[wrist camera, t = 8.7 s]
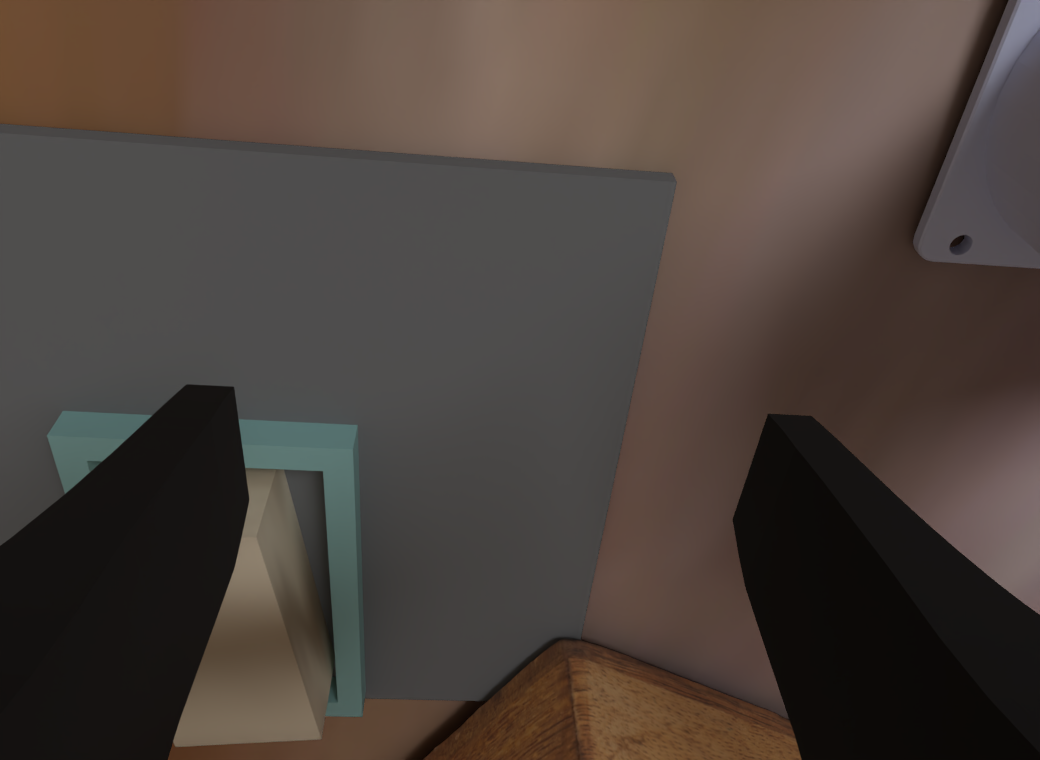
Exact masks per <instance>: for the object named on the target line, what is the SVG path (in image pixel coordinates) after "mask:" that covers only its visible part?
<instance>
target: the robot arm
mask: <svg viewBox="0 0 1040 760" xmlns="http://www.w3.org/2000/svg"><path fill="white" fill-rule="evenodd" d="M961 235H965V236H964V239H963V240H962V242H961V243H960V244H958V245H957V246H955V247H950V244H951V242H952V241H953V240H954V239H955V238H957V237H958V236H961ZM913 245H914V249H915V250H916V251H917V253H918V254H919V255H920V256H921V257H922V258H923V259H924V260H928V261H931V262H945V263H960V264H975V265H990V266H1005V267H1020V268H1035V269H1040V0H1009V1H1008V3H1007V6H1006V8H1005V10H1004V13H1003V15H1002V18H1001V20H1000V23H999V25H998V28H997V30H996V33H995V35H994V38H993V40H992V43H991V45H990V48H989V50H988V53H987V55H986V58H985V60H984V63H983V65H982V68H981V70H980V73H979V75H978V78H977V80H976V83H975V85H974V88H973V90H972V93H971V95H970V98H969V100H968V103H967V105H966V108H965V110H964V113H963V115H962V118H961V120H960V123H959V125H958V128H957V130H956V133H955V135H954V138H953V140H952V143H951V145H950V148H949V150H948V153H947V155H946V158H945V160H944V163H943V165H942V167H941V170H940V172H939V175H938V177H937V180H936V182H935V185H934V187H933V190H932V192H931V195H930V197H929V200H928V202H927V205H926V207H925V210H924V212H923V215H922V217H921V220H920V222H919V225H918V227H917V230H916V232H915V235H914V239H913ZM249 500H250V499H249V492H248V485H247V477H246V470H245V463H244V455H243V448H242V441H241V433H240V426H239V419H238V411H237V404H236V397H235V390H234V387H232V386H212V385H193V384H186V385H185V386H184V387H183V388H182V389H181V390H179V391H178V392H177V393H176V394H175V395H174V396H173V397H172V398H170V399H169V400H168V401H167V402H166V403H165V404H164V405H163V406H162V407H161V408H160V409H159V410H157V411H156V412H155V413H154V414H153V415H152V416H151V417H150V418H149V419H148V420H147V421H146V422H145V423H144V424H143V425H141V426H140V427H139V428H138V429H137V430H136V431H135V432H134V433H133V434H132V435H131V436H130V437H129V438H127V439H126V440H125V441H124V442H123V443H122V444H121V445H120V446H119V447H118V448H117V449H116V450H114V451H113V452H112V453H111V454H110V455H109V456H108V457H107V458H105V459H104V460H103V461H102V462H101V463H100V464H99V465H98V466H96V467H95V468H94V469H93V470H92V471H91V472H90V473H88V474H87V475H86V476H85V477H84V478H83V479H82V480H81V481H79V482H78V483H77V484H76V485H75V486H74V487H73V488H71V489H70V490H69V491H68V492H67V493H66V494H64V495H63V496H62V497H61V498H60V499H58V500H57V501H56V502H55V503H53V504H52V505H51V506H50V507H48V508H47V509H46V510H45V511H43V512H42V513H41V514H40V515H39V516H37V517H36V518H35V519H34V520H32V521H31V522H30V523H29V524H27V525H26V526H25V527H24V528H22V529H21V530H20V531H19V532H17V533H16V534H15V535H14V536H12V537H11V538H10V539H9V540H7V541H6V542H5V543H3V544H2V545H1V546H0V760H168V756H169V753H170V750H171V747H172V743H173V740H174V737H175V734H176V731H177V727H178V724H179V721H180V718H181V715H182V713H183V710H184V707H185V704H186V702H187V699H188V696H189V693H190V691H191V688H192V685H193V682H194V680H195V677H196V674H197V671H198V669H199V666H200V663H201V660H202V658H203V655H204V652H205V649H206V647H207V644H208V641H209V638H210V636H211V633H212V630H213V627H214V625H215V622H216V619H217V616H218V613H219V611H220V608H221V605H222V602H223V599H224V597H225V594H226V591H227V588H228V585H229V582H230V579H231V577H232V574H233V571H234V568H235V564H236V560H237V555H238V551H239V547H240V542H241V538H242V533H243V529H244V524H245V519H246V514H247V509H248V505H249ZM733 524H734V530H735V535H736V541H737V547H738V553H739V558H740V563H741V568H742V573H743V578H744V583H745V587H746V590H747V593H748V596H749V600H750V603H751V606H752V609H753V612H754V615H755V618H756V621H757V624H758V627H759V630H760V633H761V636H762V639H763V642H764V645H765V648H766V651H767V654H768V657H769V660H770V663H771V666H772V669H773V672H774V675H775V678H776V681H777V684H778V687H779V690H780V693H781V696H782V699H783V702H784V705H785V708H786V711H787V714H788V717H789V720H790V723H791V726H792V729H793V732H794V735H795V738H796V742H797V745H798V749H799V752H800V756H801V759H802V760H1040V615H1039V614H1038V613H1036V612H1035V611H1033V610H1032V609H1031V608H1029V607H1028V606H1027V605H1025V604H1024V603H1022V602H1021V601H1020V600H1018V599H1017V598H1016V597H1015V596H1013V595H1012V594H1011V593H1009V592H1008V591H1007V590H1006V589H1004V588H1003V587H1002V586H1000V585H999V584H998V583H997V582H995V581H994V580H993V579H992V578H990V577H989V576H988V575H987V574H986V573H984V572H983V571H982V570H981V569H980V568H978V567H977V566H976V565H975V564H974V563H972V562H971V561H970V560H969V559H968V558H966V557H965V556H964V555H963V554H962V553H960V552H959V551H958V550H957V549H955V548H954V547H953V546H952V545H951V544H950V543H949V542H947V541H946V540H945V539H944V538H943V537H942V536H941V535H939V534H938V533H937V532H936V531H935V530H934V529H933V528H931V527H930V526H929V525H928V524H927V523H926V522H925V521H924V520H922V519H921V518H920V517H919V516H918V515H917V514H916V513H915V512H914V511H913V510H911V509H910V508H909V507H908V506H907V505H906V504H905V503H904V502H903V501H902V500H901V499H900V498H898V497H897V496H896V495H895V494H894V493H893V492H892V491H891V490H890V489H889V488H888V487H887V486H886V485H885V484H884V483H882V482H881V481H880V480H879V479H878V478H877V477H876V476H875V475H874V474H873V473H872V472H871V471H870V470H869V469H868V468H867V467H866V466H865V465H864V464H863V463H861V462H860V461H859V460H858V459H857V458H856V457H855V456H854V455H853V454H852V453H851V452H850V451H849V450H848V449H847V448H846V447H845V446H844V445H843V444H842V443H840V442H839V441H838V440H837V439H836V438H835V437H834V436H833V435H832V434H831V433H830V432H829V431H828V430H826V429H825V428H824V427H823V426H822V425H821V424H820V423H819V422H817V421H816V420H815V419H814V418H813V417H812V416H799V415H780V414H768V416H767V419H766V422H765V425H764V428H763V431H762V434H761V437H760V440H759V443H758V446H757V449H756V452H755V455H754V458H753V461H752V464H751V467H750V470H749V473H748V476H747V478H746V481H745V484H744V487H743V490H742V493H741V496H740V499H739V502H738V505H737V508H736V511H735V514H734V517H733Z"/></svg>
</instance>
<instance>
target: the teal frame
mask: <svg viewBox="0 0 1040 760" xmlns="http://www.w3.org/2000/svg"><path fill="white" fill-rule="evenodd" d="M151 416H152V415H139V414H118V413H97V412H76V411H63V412H62V413H61V415H60V416H59V418H58V419H57V421H56V422H55V424H54V425H53V427H52V429H51V430H50V432H49V433H48V435H47V437H48V441H49V444H50V447H51V450H52V454H53V457H54V460H55V463H56V466H57V470H58V473H59V476H60V479H61V482H62V486H63V489H64V492H65V494H66V493H67V492H68V491H69V490H70V489H71V488H73V487H74V486H75V485H76V484H77V483H78V482H79V481H81V480H82V479H83V478H84V477H85V476H86V475H87V474H88V473H90V472H91V471H92V470H93V469H94V468H95V467H96V466H98V465H99V464H100V463H101V462H102V461H103V460H104V459H105V458H107V457H108V456H109V455H110V454H111V453H112V452H113V451H114V450H116V449H117V448H118V447H119V446H120V445H121V444H122V443H123V442H124V441H125V440H126V439H127V438H129V437H130V436H131V435H132V434H133V433H134V432H135V431H136V430H137V429H138V428H139V427H140V426H141V425H143V424H144V423H145V422H146V421H147V420H148V419H149V418H150V417H151ZM239 426H240V433H241V441H242V448H243V455H244V463H245V468H261V469H284V470H307V471H323V479H324V494H325V510H326V526H327V541H328V557H329V572H330V588H331V604H332V619H333V635H334V651H335V666H336V677H332V679H331V685H330V691H329V697H328V703H327V709H326V715H325V716H343V717H362V716H363V708H364V700H365V693H366V684H365V650H364V617H363V584H362V551H361V518H360V485H359V452H358V425H347V424H326V423H305V422H284V421H263V420H243V419H239Z"/></svg>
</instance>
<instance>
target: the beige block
mask: <svg viewBox="0 0 1040 760" xmlns="http://www.w3.org/2000/svg"><path fill="white" fill-rule="evenodd" d="M245 470H246V477H247V485H248V492H249V499H250V500H249V505H248V509H247V514H246V519H245V524H244V529H243V533H242V538H241V542H240V547H239V551H238V555H237V560H236V564H235V568H234V571H233V574H232V577H231V579H230V582H229V585H228V588H227V591H226V594H225V597H224V599H223V602H222V605H221V608H220V611H219V613H218V616H217V619H216V622H215V625H214V627H213V630H212V633H211V636H210V638H209V641H208V644H207V647H206V649H205V652H204V655H203V658H202V660H201V663H200V666H199V669H198V671H197V674H196V677H195V680H194V682H193V685H192V688H191V691H190V693H189V696H188V699H187V702H186V704H185V707H184V710H183V713H182V715H181V718H180V721H179V724H178V727H177V731H176V734H175V737H174V740H173V743H174V745H175V747H185V746H205V745H224V744H243V743H262V742H282V741H301V740H320V739H322V733H323V727H324V721H325V715H326V709H327V703H328V697H329V691H330V685H331V679H332V673H333V667H334V661H335V653H334V650H333V646H332V642H331V639H330V635H329V632H328V628H327V624H326V621H325V617H324V613H323V610H322V606H321V602H320V599H319V595H318V592H317V588H316V584H315V581H314V577H313V573H312V570H311V566H310V563H309V559H308V555H307V552H306V548H305V544H304V541H303V537H302V534H301V530H300V526H299V523H298V519H297V515H296V512H295V508H294V505H293V501H292V497H291V494H290V490H289V486H288V483H287V479H286V475H285V472H284V469H261V468H245Z"/></svg>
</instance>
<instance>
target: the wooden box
mask: <svg viewBox="0 0 1040 760" xmlns="http://www.w3.org/2000/svg"><path fill="white" fill-rule="evenodd" d="M423 760H802V759H801V756H800V752H799V749H798V745H797V742H796V738H795V735H794V732H793V729H792V726H791V723H790V720H788V719H786V718H783V717H781V716H779V715H778V714H776V713H774V712H771V711H769V710H766V709H763V708H761V707H758V706H755V705H753V704H750V703H747V702H745V701H742V700H740V699H737V698H734V697H732V696H729V695H726V694H724V693H721V692H718V691H716V690H713V689H711V688H709V687H707V686H704V685H701V684H699V683H696V682H693V681H690V680H688V679H685V678H682V677H680V676H677V675H675V674H672V673H670V672H668V671H666V670H662V669H660V668H657V667H654V666H651V665H649V664H647V663H644V662H641V661H639V660H636V659H634V658H632V657H629V656H627V655H624V654H621V653H619V652H616V651H613V650H610V649H607V648H605V647H602V646H599V645H595V644H592V643H589V642H586V641H581V640H574V639H561V640H559V641H558V642H556V643H555V644H553V645H552V646H550V647H549V648H548V649H546V650H545V651H544V652H542V653H541V654H540V655H539V656H538V657H537V658H535V659H534V660H533V661H532V662H530V663H529V664H528V665H527V666H526V667H525V668H523V669H522V670H521V671H520V672H519V673H518V674H517V675H516V676H515V677H514V678H513V679H512V680H511V681H509V682H508V683H507V684H506V685H505V686H504V687H503V688H502V689H500V690H499V691H498V692H497V693H496V694H495V695H494V696H493V697H492V698H491V699H490V700H488V701H487V702H486V703H485V704H484V705H482V706H481V707H480V708H478V710H477V711H476V712H475V713H474V714H473V715H472V716H471V717H469V718H468V719H467V721H466V722H465V723H464V724H463V725H462V726H460V727H459V728H458V729H457V730H456V731H455V732H454V733H453V734H451V735H450V736H449V737H448V738H447V739H446V740H445V741H443V742H442V743H441V744H440V745H438V746H437V747H435V748H434V750H433V751H432V752H431V753H430V754H429V755H427V756H426V757H425V758H424V759H423Z"/></svg>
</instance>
